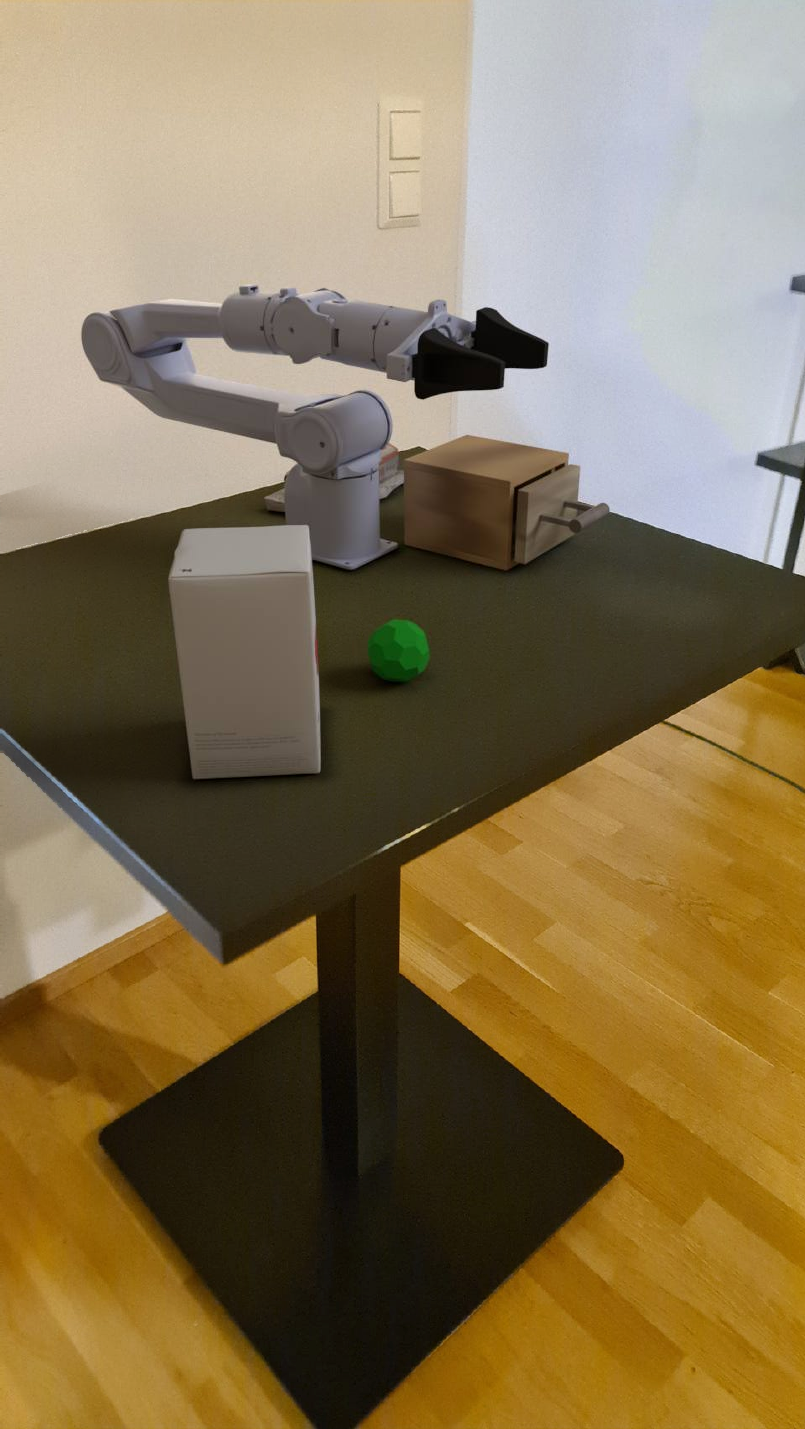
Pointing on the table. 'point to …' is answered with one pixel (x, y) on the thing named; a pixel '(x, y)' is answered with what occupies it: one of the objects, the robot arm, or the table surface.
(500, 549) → the cabinet
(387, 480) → the packaged product
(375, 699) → the table surface
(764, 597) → the table surface
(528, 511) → the drawer
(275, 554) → the rectangular carton
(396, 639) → the polyhedron
